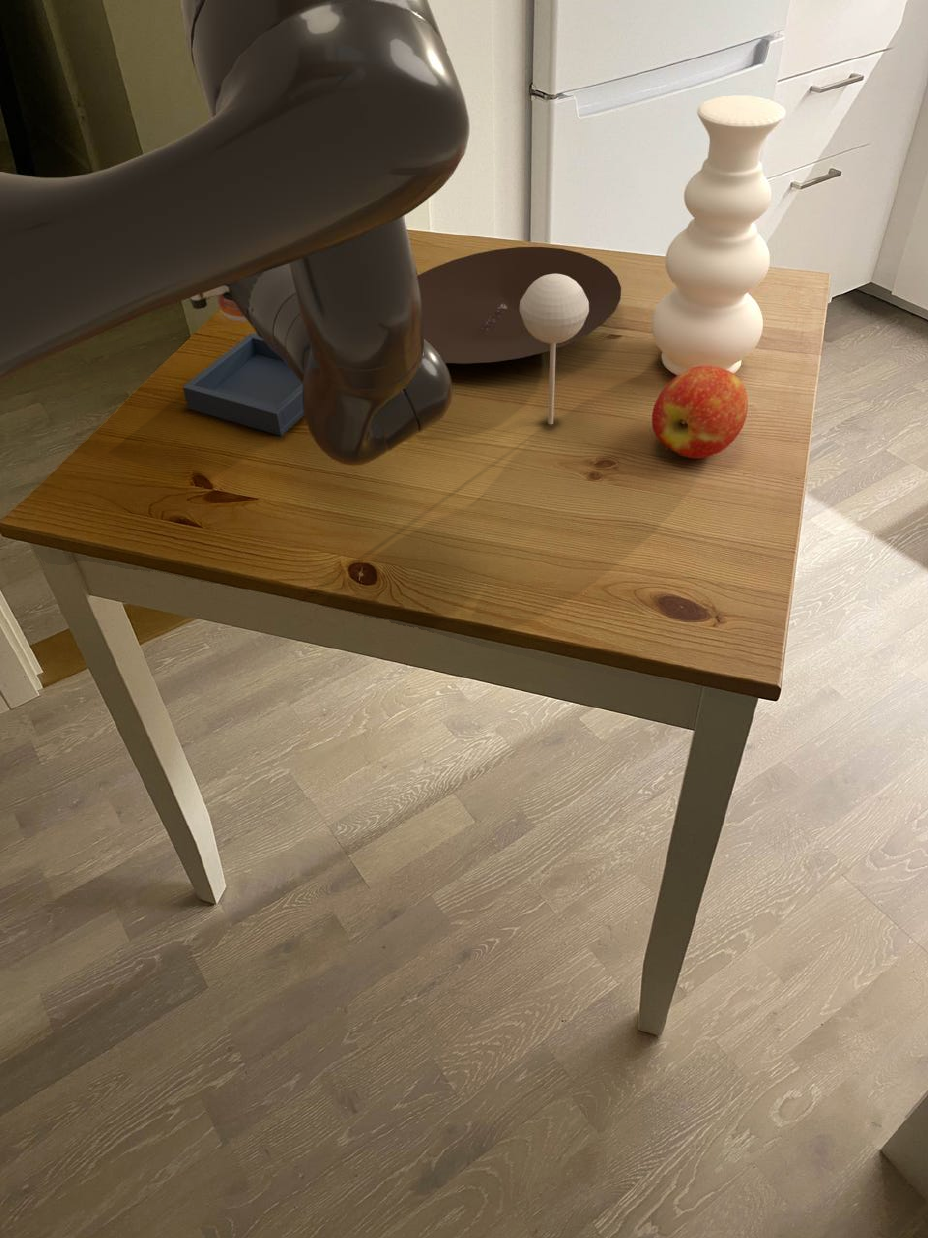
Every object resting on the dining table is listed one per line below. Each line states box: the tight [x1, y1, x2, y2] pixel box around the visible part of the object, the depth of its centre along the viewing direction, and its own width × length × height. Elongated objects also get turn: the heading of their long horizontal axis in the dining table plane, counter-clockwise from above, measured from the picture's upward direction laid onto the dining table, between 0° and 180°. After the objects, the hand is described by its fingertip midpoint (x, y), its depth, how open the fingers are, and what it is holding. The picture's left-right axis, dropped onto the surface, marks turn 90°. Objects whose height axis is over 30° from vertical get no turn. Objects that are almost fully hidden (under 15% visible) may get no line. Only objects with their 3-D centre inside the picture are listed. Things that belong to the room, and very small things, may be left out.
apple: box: [651, 366, 749, 459], centre depth 86 cm, size 8×8×8 cm
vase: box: [651, 94, 786, 376], centre depth 89 cm, size 11×11×25 cm
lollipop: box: [520, 274, 589, 425], centre depth 87 cm, size 6×6×15 cm
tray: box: [182, 332, 304, 437], centre depth 97 cm, size 12×12×3 cm
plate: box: [418, 246, 622, 364], centre depth 105 cm, size 28×28×4 cm
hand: (229, 233), depth 88 cm, fingers closed on pill bottle, 6 cm apart
